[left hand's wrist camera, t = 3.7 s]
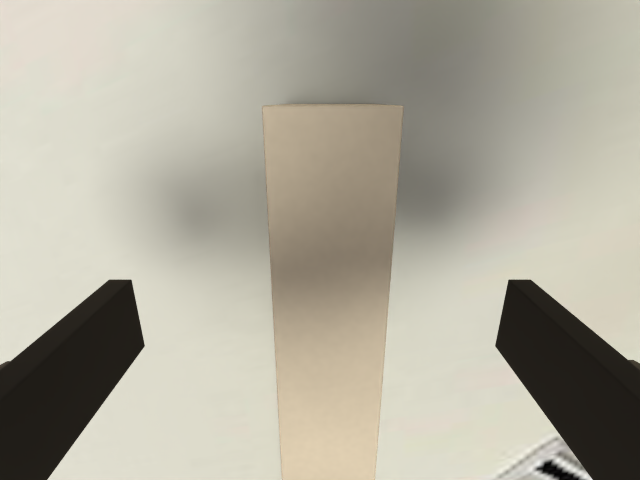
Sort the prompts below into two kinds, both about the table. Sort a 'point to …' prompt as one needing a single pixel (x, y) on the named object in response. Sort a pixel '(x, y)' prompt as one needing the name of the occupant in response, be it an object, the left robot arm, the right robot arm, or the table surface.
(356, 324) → the post
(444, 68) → the table surface
